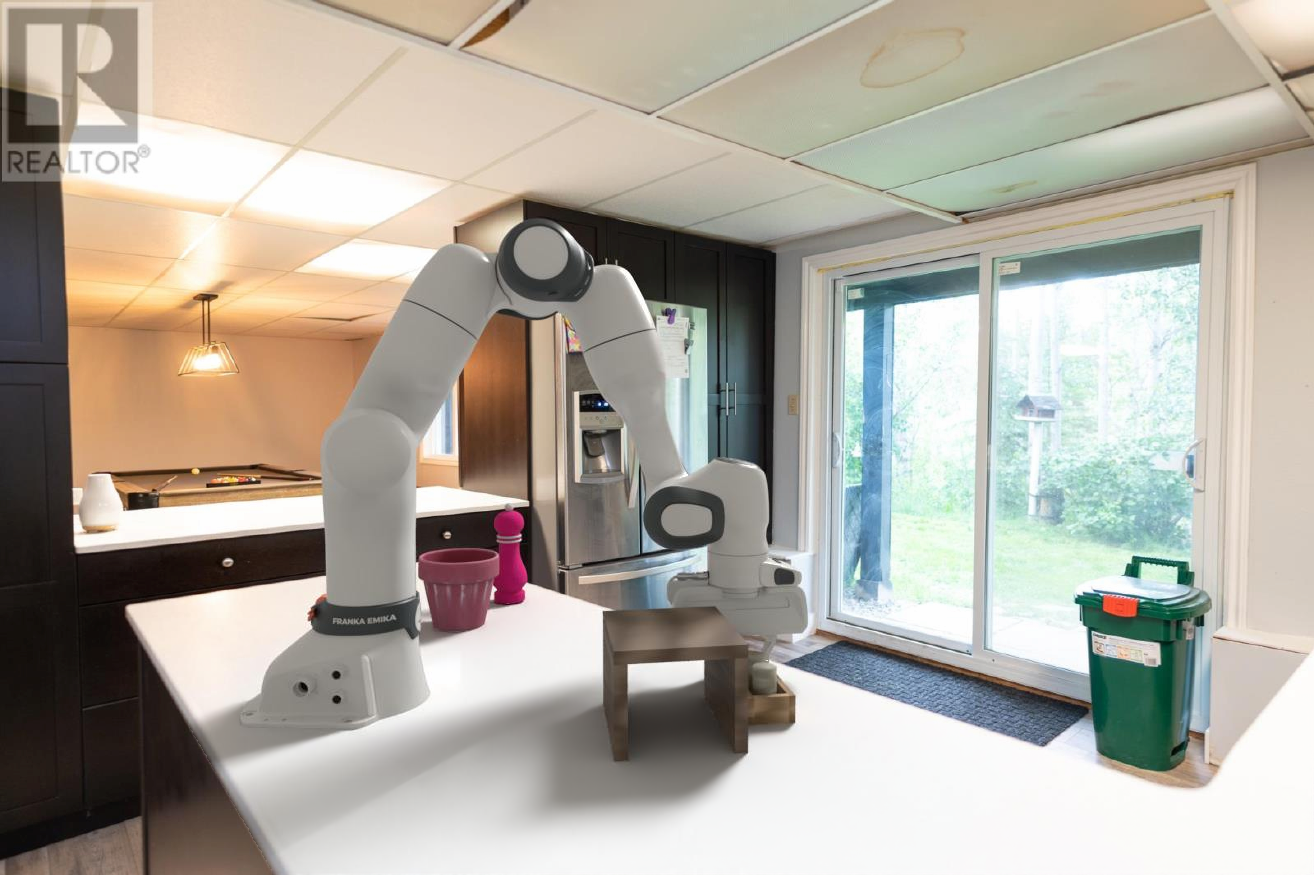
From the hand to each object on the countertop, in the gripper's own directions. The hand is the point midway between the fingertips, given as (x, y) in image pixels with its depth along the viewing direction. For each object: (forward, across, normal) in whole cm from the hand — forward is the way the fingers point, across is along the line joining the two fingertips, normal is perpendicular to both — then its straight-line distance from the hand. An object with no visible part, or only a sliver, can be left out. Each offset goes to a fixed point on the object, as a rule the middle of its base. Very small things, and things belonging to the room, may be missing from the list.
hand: (737, 665), depth 103 cm
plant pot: (+2, -43, +33) cm, 54 cm away
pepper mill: (+2, -35, +49) cm, 60 cm away
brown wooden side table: (+2, -12, -15) cm, 20 cm away
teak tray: (+2, 0, -7) cm, 7 cm away
